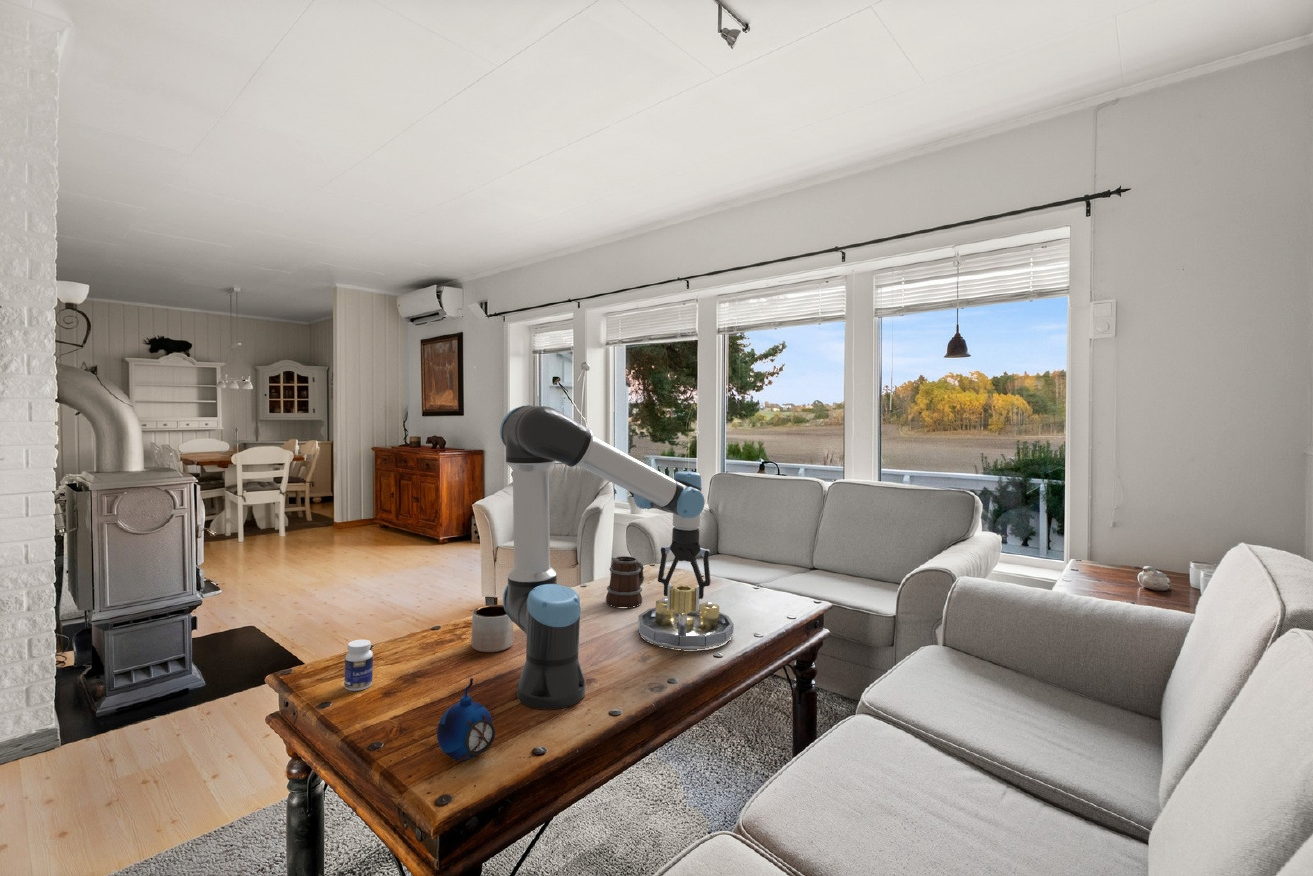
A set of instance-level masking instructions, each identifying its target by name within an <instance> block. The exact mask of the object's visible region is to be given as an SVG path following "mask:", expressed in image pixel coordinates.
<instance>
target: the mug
mask: <svg viewBox="0 0 1313 876" xmlns="http://www.w3.org/2000/svg"><path fill="white" fill-rule="evenodd" d="M644 568H645V567H644V565H643V563H642V562H641V561H639V560H638V559H637V558H636V557H634V556H633V557H632V556H625V555H623V556H616V557H614V558H613V560H612V565H611V566H610V567H609V571H610V572H611V574H610V578H609V579H610V580H609V584H608V586H607V587H606V590H607V594H606V596H605V602H607V603H606V604H607V605H608V604H609V605H612V606H611V607H613V606H615V607H614V608H616V607H628V608H627V609H630V608H629V607H633V606H637V605H639V604H641V603H643V597H642V594H641V592H642V591H643V588H642V587H641V586H642V584H643V583H644V580H645V576H644ZM609 605H608V606H609ZM641 605H642V604H641ZM639 606H640V605H639ZM633 608H634V607H633Z"/></svg>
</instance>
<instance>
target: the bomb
mask: <svg viewBox="0 0 1313 876" xmlns="http://www.w3.org/2000/svg"><path fill="white" fill-rule="evenodd" d="M473 682H474V679H473V677H470V678H469V684H468V686H466V687H465V690H464V695H462V696H461V697H460V698H459V701H458V702H457V703H455V704H453V705H452V706H450V707H449V708H448V709H447V710H446V711H444V713H443V714H442V716H441V717H440V720H439V722H438V724H437V728H436V729H437V730H436V739H437V742H438V746H439V748H440V750H441V751H442V752H443V754H445V755H446V756H447V757H449V758H452V759H453V760H457V761H458V760H459V761H465V760H466V761H467V760H469V759H473V758H475V757H477V756H479V755H481V754H483V753H485V752H486V751H487V750H488V749H489V748H490V747H491V746H492V744H493V743H494V741H495V739H496V732H497V731H496V729H495V726H494V723H493V718H492V715H491V713H490V712H489V710H488V709H487V708H486V706H484V705H483V704H482V703H479V702H478V701H473V700H472V699H473V698H472V696H471V695H468V693H469V689H471V687H472V686H473Z"/></svg>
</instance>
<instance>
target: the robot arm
mask: <svg viewBox="0 0 1313 876" xmlns="http://www.w3.org/2000/svg"><path fill="white" fill-rule="evenodd" d="M499 427H500V428H499V434H500V438H501V441H502V443H503V445H504V446H505V463H506V465H507V466H509V468H510V469H511V470H512V501H513V502H512V503H513V504H512V508H513V509H512V512H513V516H512V517H513V519H512V520H513V521H512V522H513V524H512V525H513V568H512V570H511V571H510V572H508V574H507V586H506V587H505V588H504V591H503V594H502V605H503V606H504V609H505V611H506V614H507V615H508V617H509V618H510V619H511V621H512V622H513V624H515V625H516V626H517V627H519V629H520V630H521V631H522V632H523V633H524V634H526V646H525V647H526V649H525V651H526V653H525V655H526V656H525V663H524V665H523V669H522V671H521V674H520V677H519V680H518V683H517V687H516V688H517V689H516V690H517V691H516V697H517V700H518V701H519V702H520V703H521V704H523V706H524V705H525V706H527V707H530V708H533V709H538V710H539V709H540V710H557V709H558V710H559V709H564V708H567V707H571V706H573V705H575V704H577V703H579V702H580V701H582V700H583V698H584V697H585V696H586V681H585V678H584V674H583V670H582V667H581V663H580V661H579V654H580V653H579V649H580V648H579V647H580V645H579V644H580V622H581V621H580V620H581V613H582V611H581V610H582V608H581V603H580V602H581V601H580V599H581V598H580V596H579V594H578V593H577V591H576V590H575V589H573V588H571V587H569V586H567V585H566V586H565V585H564V586H563V585H562V584H557V582H558V581H557V571H556V570H555V569H554V568H553V567H552V566H551V542H550V541H551V540H550V539H551V537H550V536H551V535H550V534H551V533H550V532H551V531H550V528H551V527H550V516H551V515H550V468H551V467H552V466H553V465H554V464H555V463H556V462H559V463H561V464H563V465H566V466H568V467H570V468H575V467H580V468H582V469H584V470H585V471H588V472H590V473H592V474H593V475H596V476H598V477H600V478H601V479H604V480H606V481H608V482H610V483H612V484H614V485H616V486H619V487H620V488H622V489H625V490H626V491H629V492H630V493H632V494H633V500H634V504H635V505H636V507H637V508H639V509H643V510H646V509H647V510H650V509H652V510H653V509H656V510H659V511H662V512H664V513H665V512H666V513H670V514H672V526H673V527H672V533H671V535H672V536H671V540H672V541H671V544H670V545H667V546H666V545H662V546H661V547H660V555H661V558H660V563H659V569H658V576H657V582H658V583H661V584H662V585H663V596H664V597H666V598H667V609H670V590H671V587H672V586H673V585H672V583H671V582H670V581H671V579H672V577H673V574H674V572H675V569H676V567H677V565H678V563H679V562H683V561H685V562H690V565H691V566H692V570H693V573H694V576H695V578H696V581H697V584H698V585H696V610H695V611H697V612H698V610H699V605H700V600H703V599H704V595H705V594H704V593H705V591H704V590H705V589H704V588H705V587H709V586H711V581H712V580H711V571H710V562H709V559H710V558H709V556H710V552H711V550H710V549H709V548H702V547H701V545H700V528H699V527H700V526H701V514H702V512H703V510H704V508H705V503H706V501H705V500H706V499H705V496H704V495H703V493H702V490H703V489H702V488H703V487H702V476H701V474H700V473H698V472H696V471H676V472H675V473H674V476H673V478H672V477H670V476H668V475H667V474H664V473H663V472H661V471H659V470H657V469H655V468H653V467H651V466H649V465H647V464H646V463H644V462H642V461H640V460H638V459H636V458H634V457H633V456H630V455H629V454H627V453H625V452H623V451H622V450H619V449H618V448H616V447H614V446H612V445H610V444H608V443H607V442H605V441H603V440H601V439H600V438H597V437H596V436H594V435H593V432H592V430H591V429H590V428H588V427H586V426H584V425H582V424H581V423H580V422H578V421H576V420H574V419H573V418H571V417H569V416H568V415H566V414H564V412H563V413H562V412H561V411H560V410H559V409H558V410H557V408H553V407H551V406H547V405H546V406H544V405H542V406H540V405H539V406H538V405H529V404H528V405H521V406H519V407H515V408H513V409H511V410H510V411H509V412H508V413H506V415H504V417H503V419H502V421H501V422H500V426H499ZM670 551H671V553H672V554H673V556H674V559H673V561H672V563H671V566H670V568H669V570H668V572H667V573H666V574H667V575H666V576H665V577H664V575H665V569H666V563H667V558H668V554H669V553H670ZM698 554H701V557H703V559H702V561H703V569H704V570H703V571H704V573H703V574H704V579H703V576H702V573H701V570H700V567H699V564H698V561H697V556H698Z"/></svg>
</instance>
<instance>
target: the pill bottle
mask: <svg viewBox="0 0 1313 876" xmlns="http://www.w3.org/2000/svg"><path fill="white" fill-rule="evenodd" d="M371 645H372V642H371V641H370V640H368V639H355V640H352V641H350V642H348V644H347V651H348V652H347V653H346V655H345V657H344V681H343V682H344V688H345V690H347V691H349V692H357V691H362V690H363V691H364V690H365V689H368V688H370V687H371V686H372V685H373V673H374V672H373V670H374V669H373V668H374V666H373V664H374V652H373V651H372V649H371V647H372V646H371ZM370 649H371V650H370Z"/></svg>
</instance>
